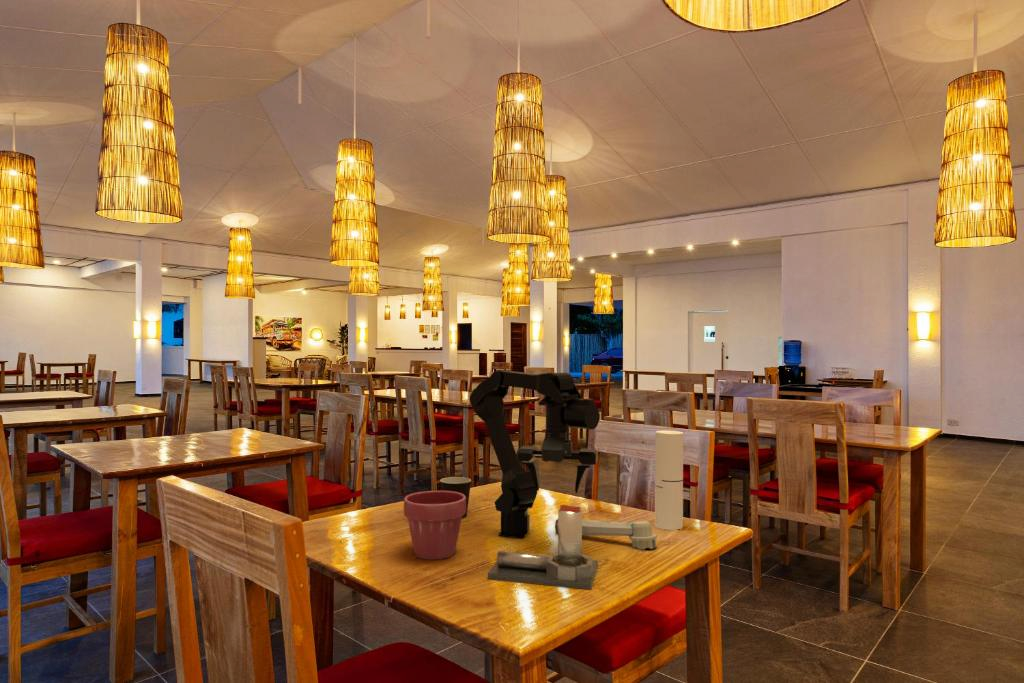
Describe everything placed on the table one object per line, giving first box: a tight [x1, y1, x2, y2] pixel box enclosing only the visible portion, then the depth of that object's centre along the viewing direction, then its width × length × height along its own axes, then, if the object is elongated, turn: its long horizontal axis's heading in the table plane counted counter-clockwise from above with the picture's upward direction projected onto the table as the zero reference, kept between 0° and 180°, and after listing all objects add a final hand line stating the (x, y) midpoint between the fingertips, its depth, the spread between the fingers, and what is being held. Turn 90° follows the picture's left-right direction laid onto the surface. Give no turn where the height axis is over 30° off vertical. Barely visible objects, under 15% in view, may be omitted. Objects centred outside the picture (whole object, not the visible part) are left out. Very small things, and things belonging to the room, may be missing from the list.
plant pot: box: [403, 490, 466, 560], centre depth 138 cm, size 14×14×13 cm
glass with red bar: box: [556, 504, 583, 567], centre depth 123 cm, size 5×5×13 cm
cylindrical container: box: [654, 429, 684, 531], centre depth 161 cm, size 7×7×25 cm
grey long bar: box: [554, 519, 658, 550], centre depth 148 cm, size 5×7×25 cm
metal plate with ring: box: [487, 550, 599, 590], centre depth 126 cm, size 21×13×4 cm, turn 76°
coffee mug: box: [439, 476, 472, 519], centre depth 170 cm, size 12×9×10 cm
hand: (557, 491), depth 143 cm, fingers open, 9 cm apart
